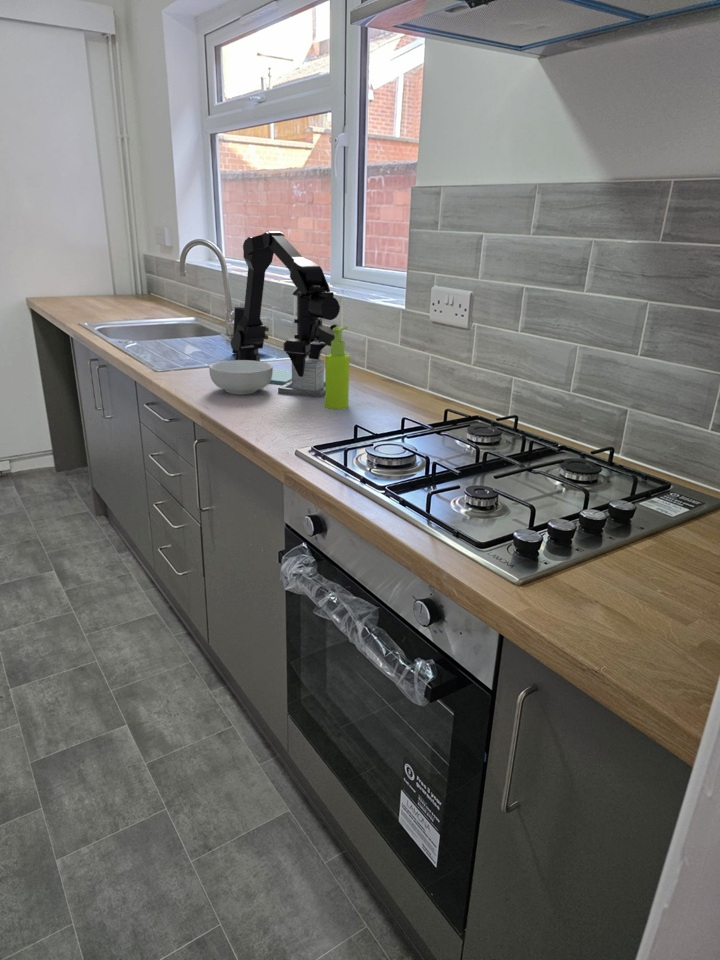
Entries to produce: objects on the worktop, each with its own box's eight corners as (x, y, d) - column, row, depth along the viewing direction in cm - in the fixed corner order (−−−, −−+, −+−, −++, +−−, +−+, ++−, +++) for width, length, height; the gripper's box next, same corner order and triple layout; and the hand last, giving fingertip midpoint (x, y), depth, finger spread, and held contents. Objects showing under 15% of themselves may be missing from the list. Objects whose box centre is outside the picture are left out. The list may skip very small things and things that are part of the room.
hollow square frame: (278, 393, 176) (278, 387, 175) (296, 383, 186) (296, 378, 186) (320, 398, 172) (320, 392, 172) (336, 388, 183) (336, 382, 182)
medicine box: (324, 391, 180) (324, 360, 177) (316, 394, 176) (316, 362, 173) (299, 387, 183) (299, 356, 180) (291, 390, 179) (291, 359, 176)
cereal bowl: (285, 392, 177) (285, 366, 175) (236, 402, 166) (235, 375, 163) (247, 380, 188) (246, 356, 185) (198, 390, 176) (196, 364, 174)
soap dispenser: (352, 404, 168) (355, 326, 160) (343, 411, 162) (345, 330, 154) (331, 402, 169) (332, 324, 162) (321, 408, 163) (322, 328, 156)
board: (248, 380, 188) (247, 377, 187) (266, 372, 198) (266, 368, 198) (285, 385, 184) (285, 381, 184) (302, 376, 195) (302, 373, 194)
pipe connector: (263, 352, 228) (266, 309, 223) (267, 355, 224) (270, 311, 219) (230, 351, 224) (233, 306, 218) (234, 354, 219) (236, 308, 214)
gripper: (323, 322, 161) (322, 383, 167) (348, 312, 178) (347, 369, 184) (282, 318, 164) (282, 379, 170) (310, 309, 181) (310, 365, 187)
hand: (307, 373), depth 178 cm, fingers open, 9 cm apart
